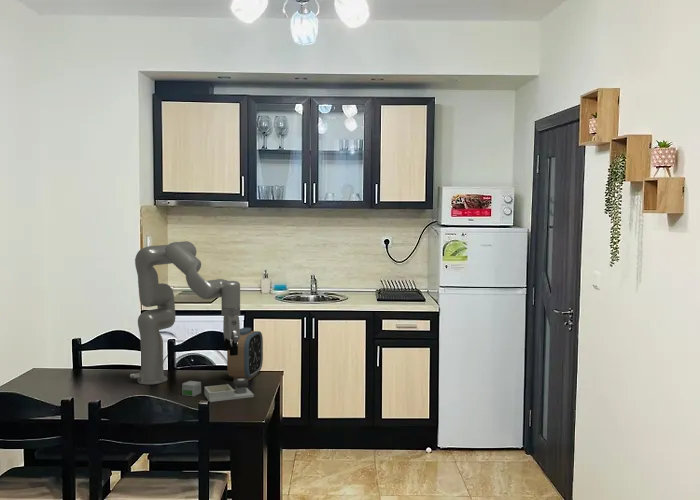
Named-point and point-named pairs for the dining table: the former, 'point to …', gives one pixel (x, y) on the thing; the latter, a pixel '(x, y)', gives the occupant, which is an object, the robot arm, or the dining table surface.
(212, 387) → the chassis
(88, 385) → the dining table surface
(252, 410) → the dining table surface
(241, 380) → the wheel
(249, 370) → the alarm clock
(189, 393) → the small box
